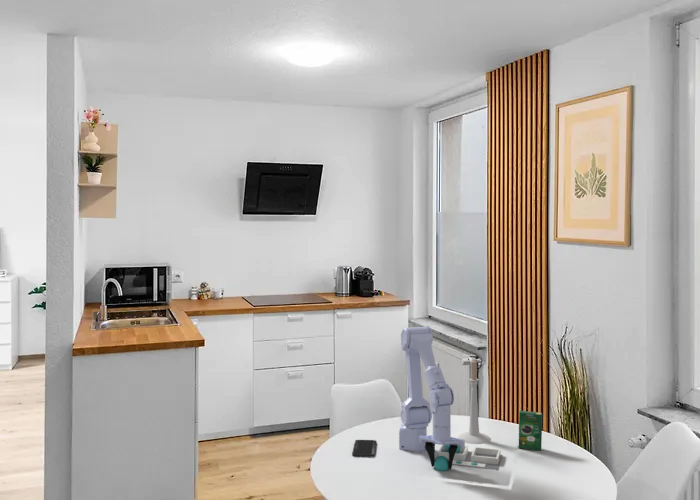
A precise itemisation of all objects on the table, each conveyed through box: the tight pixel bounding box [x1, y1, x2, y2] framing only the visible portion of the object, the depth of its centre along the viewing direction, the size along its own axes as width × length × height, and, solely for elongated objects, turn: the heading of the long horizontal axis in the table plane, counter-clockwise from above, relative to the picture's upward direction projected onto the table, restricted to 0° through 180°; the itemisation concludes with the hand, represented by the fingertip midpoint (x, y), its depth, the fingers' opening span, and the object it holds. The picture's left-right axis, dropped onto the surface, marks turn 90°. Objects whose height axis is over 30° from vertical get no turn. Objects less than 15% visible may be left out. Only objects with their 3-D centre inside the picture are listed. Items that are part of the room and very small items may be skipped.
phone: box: [351, 439, 378, 458], centre depth 223 cm, size 8×1×15 cm
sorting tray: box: [435, 445, 503, 471], centre depth 210 cm, size 21×14×3 cm, turn 71°
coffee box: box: [518, 410, 543, 452], centre depth 222 cm, size 8×3×13 cm, turn 71°
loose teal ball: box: [434, 455, 449, 472], centre depth 202 cm, size 5×5×5 cm
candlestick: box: [457, 360, 492, 445], centre depth 230 cm, size 13×13×30 cm
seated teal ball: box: [446, 445, 461, 454], centre depth 214 cm, size 5×5×5 cm
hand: (441, 466), depth 202 cm, fingers closed on loose teal ball, 5 cm apart
